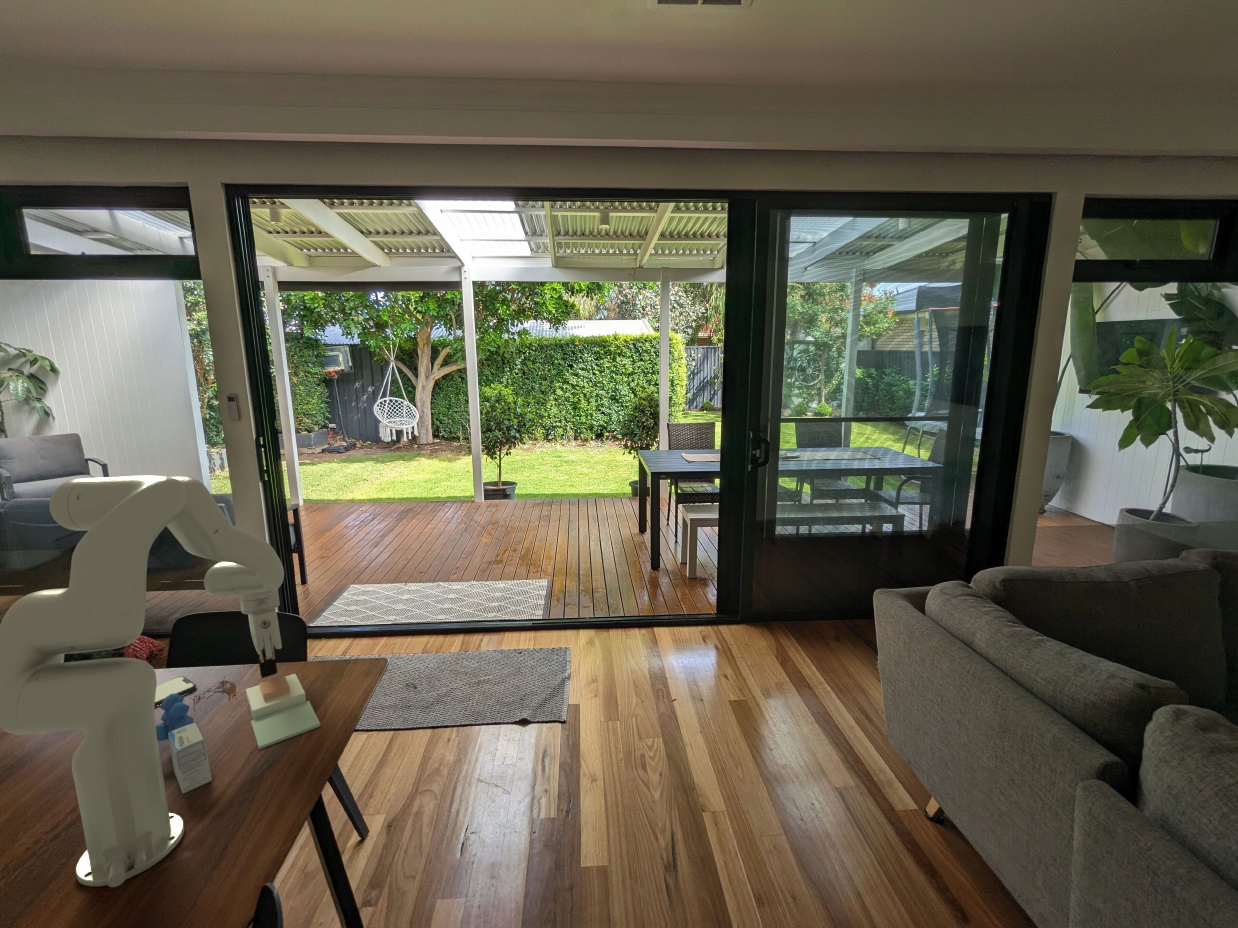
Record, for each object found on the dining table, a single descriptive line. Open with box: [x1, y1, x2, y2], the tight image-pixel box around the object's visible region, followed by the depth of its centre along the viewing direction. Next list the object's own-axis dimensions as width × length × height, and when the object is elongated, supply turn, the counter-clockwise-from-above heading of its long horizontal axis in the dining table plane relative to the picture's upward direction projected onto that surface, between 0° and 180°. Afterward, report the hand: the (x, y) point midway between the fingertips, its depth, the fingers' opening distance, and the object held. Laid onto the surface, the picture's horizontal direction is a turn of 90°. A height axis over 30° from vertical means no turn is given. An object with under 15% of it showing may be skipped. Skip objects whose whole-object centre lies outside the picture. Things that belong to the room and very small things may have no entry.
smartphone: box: [155, 676, 197, 708], centre depth 125 cm, size 9×2×16 cm
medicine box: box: [168, 721, 213, 794], centre depth 100 cm, size 8×4×9 cm, turn 47°
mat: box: [250, 700, 321, 750], centre depth 115 cm, size 11×11×1 cm
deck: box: [245, 673, 307, 720], centre depth 124 cm, size 11×10×2 cm
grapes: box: [155, 693, 195, 742], centre depth 106 cm, size 12×7×12 cm, turn 54°
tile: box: [258, 675, 290, 701], centre depth 124 cm, size 6×5×2 cm
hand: (269, 674), depth 130 cm, fingers closed
